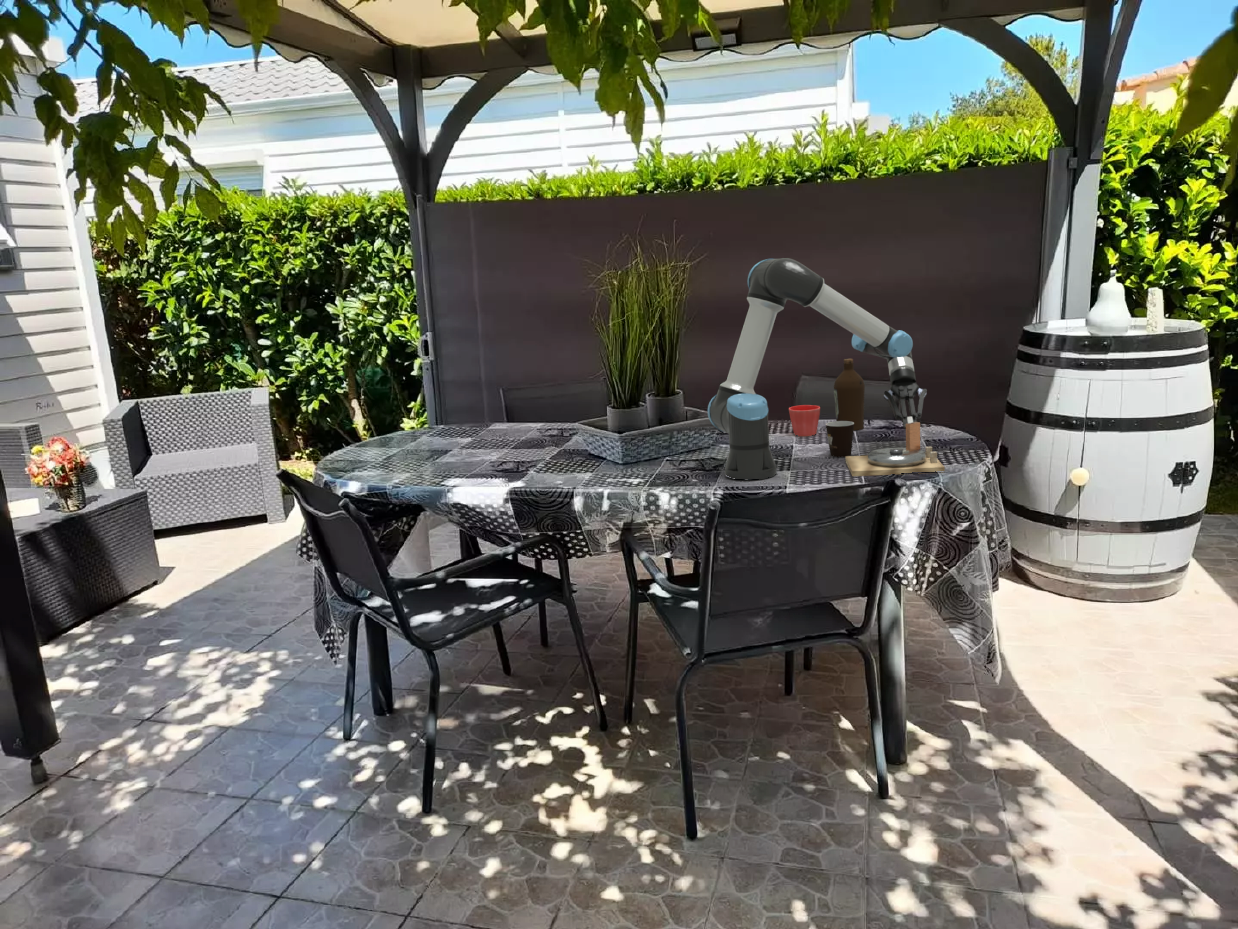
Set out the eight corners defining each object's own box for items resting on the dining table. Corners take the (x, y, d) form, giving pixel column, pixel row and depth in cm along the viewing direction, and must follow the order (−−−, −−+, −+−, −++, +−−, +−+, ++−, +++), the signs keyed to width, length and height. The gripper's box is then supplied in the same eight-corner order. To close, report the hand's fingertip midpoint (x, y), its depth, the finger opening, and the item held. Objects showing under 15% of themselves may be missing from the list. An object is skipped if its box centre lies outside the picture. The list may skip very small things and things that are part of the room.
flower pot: (824, 436, 304) (823, 408, 302) (792, 438, 305) (791, 411, 303) (817, 430, 315) (816, 403, 313) (787, 432, 315) (786, 406, 313)
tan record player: (852, 476, 247) (851, 460, 246) (845, 461, 265) (845, 446, 264) (944, 472, 243) (944, 456, 242) (931, 457, 261) (931, 442, 260)
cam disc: (895, 469, 243) (894, 434, 241) (856, 460, 257) (855, 427, 255) (939, 459, 250) (939, 425, 248) (898, 451, 264) (898, 419, 262)
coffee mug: (855, 457, 269) (855, 425, 267) (827, 458, 271) (826, 426, 269) (853, 449, 280) (852, 418, 278) (826, 450, 282) (825, 420, 280)
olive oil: (866, 425, 316) (865, 356, 310) (864, 431, 306) (862, 360, 301) (836, 426, 320) (834, 357, 314) (833, 431, 310) (831, 361, 304)
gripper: (922, 380, 275) (933, 442, 262) (879, 382, 277) (888, 445, 265) (925, 365, 269) (936, 428, 256) (881, 368, 271) (890, 431, 258)
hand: (912, 437), depth 260 cm, fingers closed
